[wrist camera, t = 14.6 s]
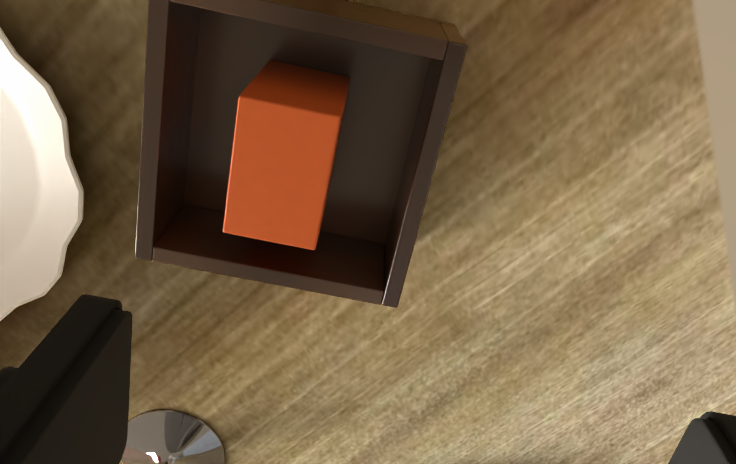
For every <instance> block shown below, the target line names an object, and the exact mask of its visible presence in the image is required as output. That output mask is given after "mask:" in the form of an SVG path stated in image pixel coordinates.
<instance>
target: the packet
mask: <svg viewBox="0 0 736 464" xmlns="http://www.w3.org/2000/svg"><path fill="white" fill-rule="evenodd" d="M349 84H350V77H347V76H342V75H338V74H333V73H328V72H323V71H319V70H314V69H309V68H305V67H300V66H295V65H291V64H286V63H281V62H277V61H272V60H269V61H268V62H267V64H266V65H265V66H264V67H263V68H262V70H261V71H260V72H259V73H258V74H257V75H256V77H255V78H254V79H253V80H252V81H251V82H250V84H249V85H248V86H247V87H246V88H245V90H244V91H243V92H242V93H241V94H240V95H239V98H238V106H237V114H236V123H235V131H234V140H233V148H232V156H231V165H230V173H229V182H228V190H227V198H226V207H225V215H224V224H223V232H224V233H228V234H233V235H239V236H244V237H249V238H254V239H259V240H264V241H269V242H274V243H279V244H285V245H290V246H295V247H300V248H305V249H310V250H315V249H316V245H317V241H318V236H319V232H320V227H321V223H322V219H323V214H324V210H325V205H326V201H327V196H328V192H329V187H330V182H331V176H332V171H333V166H334V161H335V156H336V151H337V146H338V140H339V135H340V130H341V125H342V120H343V115H344V109H345V104H346V99H347V94H348V89H349Z"/></svg>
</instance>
